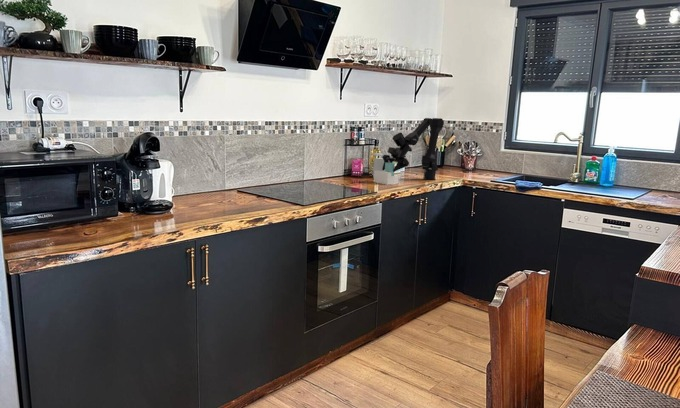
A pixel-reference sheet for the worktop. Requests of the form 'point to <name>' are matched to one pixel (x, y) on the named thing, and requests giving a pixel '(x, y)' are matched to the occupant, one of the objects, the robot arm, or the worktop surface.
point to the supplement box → (378, 164)
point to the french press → (375, 155)
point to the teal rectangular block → (389, 168)
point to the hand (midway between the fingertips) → (387, 170)
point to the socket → (385, 177)
